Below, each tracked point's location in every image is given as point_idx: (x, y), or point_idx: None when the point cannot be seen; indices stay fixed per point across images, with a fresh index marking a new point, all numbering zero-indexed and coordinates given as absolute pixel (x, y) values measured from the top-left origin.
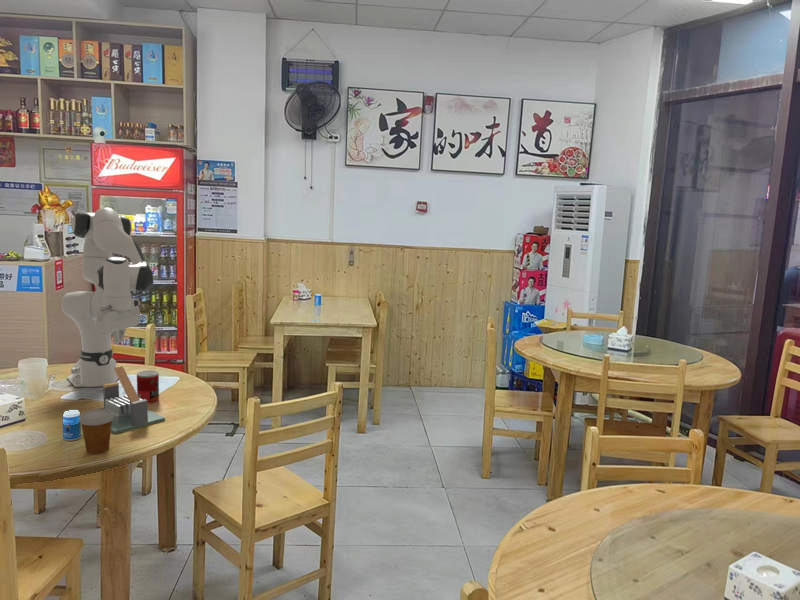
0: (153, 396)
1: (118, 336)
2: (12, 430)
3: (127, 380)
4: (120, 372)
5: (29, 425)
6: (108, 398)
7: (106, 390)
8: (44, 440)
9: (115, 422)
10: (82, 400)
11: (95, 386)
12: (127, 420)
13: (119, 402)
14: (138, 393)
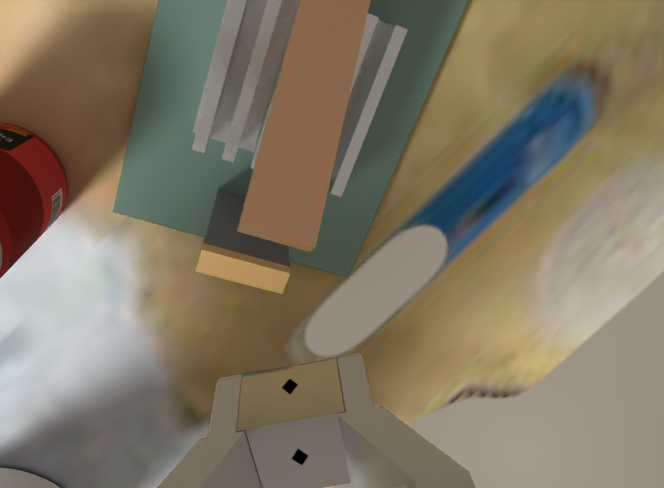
0: (2, 131)
1: (382, 432)
2: (553, 350)
3: (296, 89)
4: (299, 180)
5: (498, 345)
6: None
7: (281, 255)
8: (616, 184)
9: None
10: (203, 405)
11: (54, 485)
12: None
13: None
14: (51, 214)
